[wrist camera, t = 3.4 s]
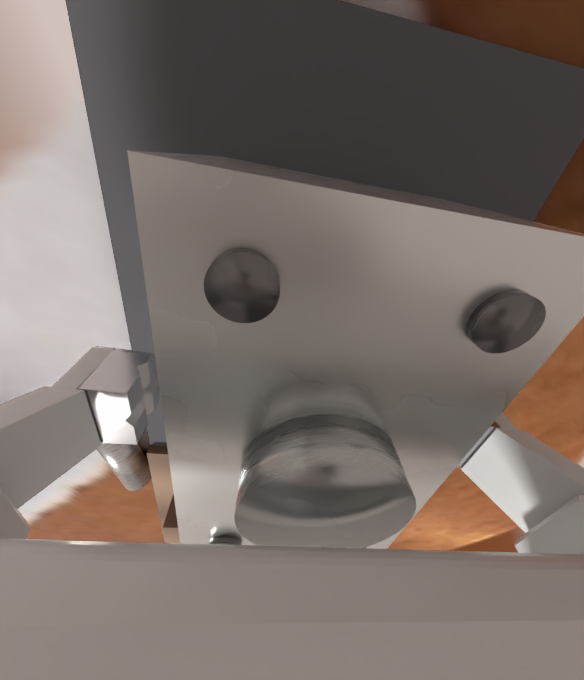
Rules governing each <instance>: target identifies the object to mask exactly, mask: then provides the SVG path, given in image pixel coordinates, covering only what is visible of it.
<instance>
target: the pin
mask: <svg viewBox="0 0 584 680" xmlns="http://www.w3.org/2000/svg"><path fill="white" fill-rule="evenodd" d="M97 450H98V452H99V453H100V454H101V456H102V457H103V458H104V460H105V461H106V462H107V464H108V465H109V466H110V468H111V469H112V470H113V472H114V473H115V474H116V476H117V477H118V478H119V480H120V481H121V482H122V484H123V485H124V486H125V488H126V489H127V490H130V491H135V490H139V489H141V488H143V487H144V486H145V485H147V484H148V483H149V481H150V480H151V479H152V477H151V472H150V467H149V462H148V459H147V458H146V456H145V454H144V453H143V451H142V449H141V448H140V446H139V444H137V445H134V444H111V443H101V446H99V447H98V448H97Z"/></svg>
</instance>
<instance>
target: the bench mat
mask: <svg viewBox="0 0 584 680" xmlns="http://www.w3.org/2000/svg"><path fill="white" fill-rule="evenodd" d="M66 5H67V10H68V16H69V21H70V26H71V31H72V37H73V42H74V47H75V52H76V58H77V63H78V68H79V74H80V79H81V84H82V89H83V95H84V100H85V105H86V111H87V116H88V121H89V126H90V132H91V137H92V142H93V147H94V153H95V158H96V163H97V169H98V174H99V179H100V184H101V190H102V195H103V200H104V206H105V211H106V216H107V221H108V227H109V232H110V237H111V242H112V248H113V253H114V258H115V264H116V269H117V274H118V279H119V285H120V290H121V295H122V300H123V306H124V311H125V316H126V322H127V327H128V332H129V337H130V343H131V348H132V351H140V352H147V353H154V345H153V338H152V330H151V323H150V316H149V308H148V301H147V293H146V286H145V279H144V271H143V264H142V256H141V249H140V242H139V234H138V227H137V219H136V212H135V205H134V197H133V190H132V182H131V175H130V168H129V160H128V153H127V150H129V151H145V152H162V153H178V154H195V155H211V156H222V157H228V158H233V159H238V160H243V161H248V162H253V163H259V164H264V165H269V166H274V167H279V168H284V169H289V170H295V171H300V172H305V173H310V174H315V175H320V176H326V177H331V178H336V179H341V180H346V181H351V182H356V183H362V184H367V185H372V186H377V187H382V188H387V189H393V190H398V191H403V192H408V193H413V194H418V195H424V196H429V197H434V198H439V199H444V200H448V201H452V202H456V203H460V204H464V205H468V206H472V207H477V208H481V209H485V210H489V211H493V212H497V213H501V214H505V215H510V216H514V217H518V218H522V219H526V220H530V221H534V220H535V218H536V217H537V215H538V213H539V212H540V210H541V208H542V207H543V205H544V203H545V202H546V200H547V198H548V197H549V195H550V193H551V192H552V190H553V188H554V187H555V185H556V183H557V182H558V180H559V178H560V177H561V175H562V174H563V172H564V170H565V169H566V167H567V165H568V164H569V162H570V160H571V159H572V157H573V155H574V154H575V152H576V150H577V149H578V147H579V145H580V144H581V142H582V140H583V139H584V68H581V67H577V66H574V65H570V64H566V63H563V62H559V61H556V60H552V59H548V58H545V57H541V56H538V55H534V54H530V53H527V52H523V51H520V50H516V49H512V48H509V47H505V46H502V45H498V44H494V43H491V42H487V41H484V40H480V39H476V38H473V37H469V36H466V35H462V34H458V33H455V32H451V31H448V30H444V29H441V28H437V27H433V26H430V25H426V24H423V23H419V22H415V21H412V20H408V19H405V18H401V17H397V16H394V15H390V14H387V13H383V12H379V11H376V10H372V9H369V8H365V7H361V6H358V5H354V4H351V3H347V2H343V1H340V0H66ZM156 373H157V371H156ZM147 420H148V425H147V432H148V438H149V443H150V446H164V447H167V441H166V434H165V427H164V419H163V412H162V404H161V397H160V398H159V402H158V404H157V407H156V409H155V411H153V412H152V413H150V414H149V415H147Z"/></svg>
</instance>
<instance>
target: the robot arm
mask: <svg viewBox="0 0 584 680" xmlns="http://www.w3.org/2000/svg"><path fill="white" fill-rule="evenodd" d="M156 371H157V367H156V360H155V353H147V352H140V351H132V350H125V349H115V348H107V347H99V346H97V347H93V348H91V349H90V350H89V351H88V352H87V353H86V354H85V355H84V356H83V357H82V358H81V359H80V360H79V361H78V362H77V363H76V364H75V365H74V366H73V367H72V368H71V369H70V370H69V371H68V372H67V373H66V374H65V375H64V376H63V377H62V378H60V379H59V380H58V381H57V382H56V383H55V384H54V385H53V386H52V387H42V388H40V389H37V390H35V391H32V392H30V393H27V394H25V395H23V396H20V397H18V398H15V399H13V400H10V401H8V402H5V403H3V404H0V680H584V468H583V467H581V466H580V465H578V464H576V463H575V462H573V461H572V460H570V459H568V458H567V457H565V456H564V455H562V454H560V453H559V452H557V451H555V450H554V449H552V448H551V447H549V446H547V445H546V444H544V443H543V442H541V441H539V440H538V439H536V438H535V437H533V436H531V435H530V434H528V433H526V432H525V431H523V430H518V429H517V428H516V427H515V426H514V425H513V423H512V422H511V421H510V420H509V419H508V418H507V417H506V416H505V415H504V413H503V412H502V413H501V414H500V416H499V417H498V418H497V419H496V420H495V421H494V423H493V424H492V425H491V426H490V427H489V429H488V430H487V431H486V432H485V433H484V434H483V436H482V437H481V438H480V439H479V440H478V442H477V443H476V444H475V445H474V446H473V447H472V449H471V450H470V451H469V452H468V453H467V455H466V456H465V457H464V458H463V459H462V460H461V462H460V463H459V464H458V465H457V466H456V468H462V469H461V470H462V471H463V472H464V473H465V474H466V475H467V476H468V477H469V478H470V479H471V480H472V481H473V482H474V483H475V484H476V485H477V486H478V487H479V488H480V489H481V490H483V491H484V492H485V493H486V494H487V495H488V496H489V497H490V498H491V499H492V500H493V501H494V502H495V503H496V504H497V505H498V506H499V507H500V508H501V509H502V510H503V511H504V512H505V513H506V514H507V515H508V516H509V517H510V518H511V519H512V520H513V521H514V522H515V523H516V524H517V525H518V526H519V527H520V528H521V529H522V530H523V531H524V532H525V534H524V535H522V536H521V537H520V538H518V539H517V540H516V541H515V547H516V549H517V551H518V552H519V553H513V552H476V551H441V550H404V549H368V548H331V547H295V546H258V545H221V544H183V543H146V542H108V541H71V540H34V539H25V538H26V537H27V535H28V534H29V532H30V528H29V524H28V523H27V521H26V520H25V519H24V517H23V516H22V515H21V513H20V512H19V511H18V508H19V507H21V506H22V505H23V504H24V503H26V502H27V501H28V500H30V499H31V498H32V497H34V496H35V495H36V494H38V493H39V492H40V491H42V490H43V489H44V488H46V487H47V486H48V485H49V484H51V483H52V482H53V481H55V480H56V479H57V478H59V477H60V476H61V475H63V474H64V473H65V472H67V471H68V470H69V469H70V468H72V467H73V466H74V465H76V464H77V463H78V462H80V461H81V460H82V459H84V458H85V457H86V456H88V455H89V454H90V453H92V452H93V451H94V450H95V449H97V448H98V447H99V446H101V443H111V444H134V445H137V444H138V442H139V440H140V438H141V436H142V434H143V433H144V431H145V429H146V427H147V425H148V420H147V415H149V414H150V413H152V412H153V411H155V409H156V407H157V404H158V402H159V398H160V390H159V382H158V375H157V373H156Z"/></svg>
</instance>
